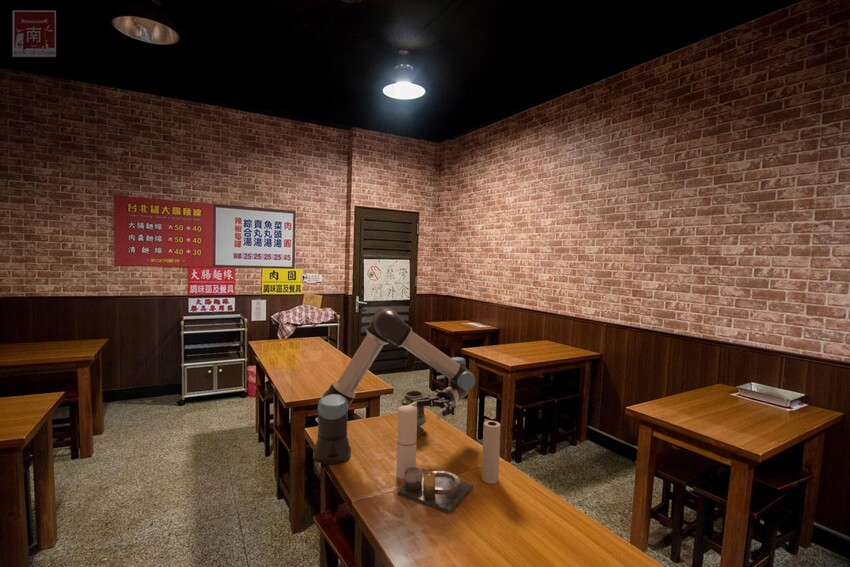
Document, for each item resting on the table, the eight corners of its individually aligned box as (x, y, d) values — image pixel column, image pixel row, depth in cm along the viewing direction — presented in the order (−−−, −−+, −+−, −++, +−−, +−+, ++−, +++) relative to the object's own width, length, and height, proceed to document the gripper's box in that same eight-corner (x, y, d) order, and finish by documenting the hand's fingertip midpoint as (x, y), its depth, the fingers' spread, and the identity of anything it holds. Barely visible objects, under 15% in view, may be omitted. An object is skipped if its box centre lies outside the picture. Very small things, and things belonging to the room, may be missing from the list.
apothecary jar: (396, 433, 193) (397, 395, 192) (405, 424, 204) (406, 388, 203) (421, 437, 189) (422, 398, 188) (429, 427, 201) (430, 390, 200)
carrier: (396, 494, 143) (397, 470, 142) (425, 470, 160) (425, 449, 159) (450, 513, 133) (450, 488, 132) (474, 486, 149) (475, 463, 149)
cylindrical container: (392, 476, 155) (394, 409, 153) (402, 467, 161) (404, 404, 160) (409, 481, 151) (411, 413, 150) (418, 472, 158) (420, 407, 156)
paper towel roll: (498, 485, 150) (500, 427, 149) (481, 483, 151) (483, 425, 150) (498, 475, 157) (500, 419, 156) (482, 473, 158) (484, 418, 157)
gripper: (473, 411, 176) (450, 429, 158) (422, 401, 189) (395, 416, 170) (473, 394, 176) (450, 409, 157) (422, 384, 188) (395, 397, 170)
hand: (422, 413), depth 164 cm, fingers open, 13 cm apart
